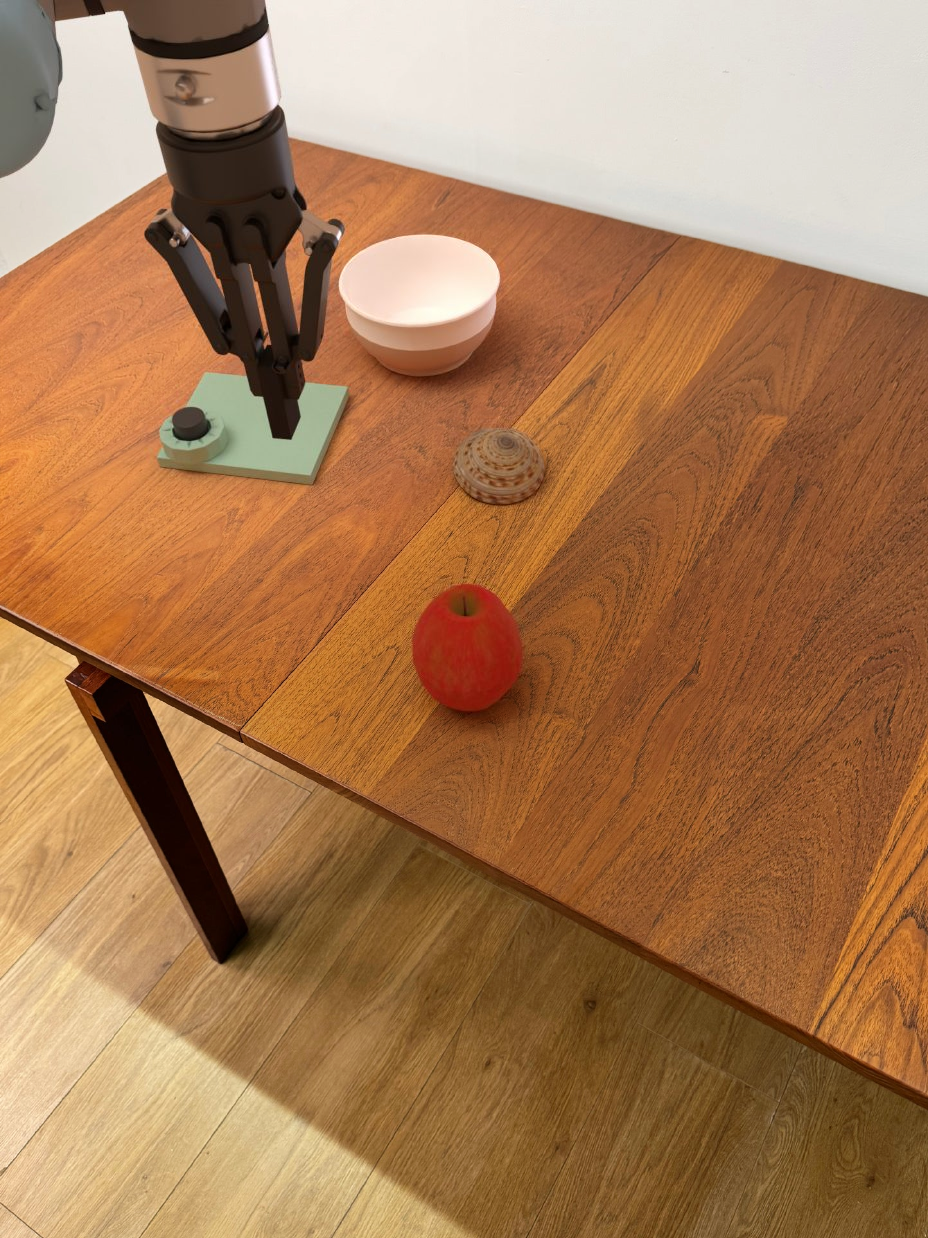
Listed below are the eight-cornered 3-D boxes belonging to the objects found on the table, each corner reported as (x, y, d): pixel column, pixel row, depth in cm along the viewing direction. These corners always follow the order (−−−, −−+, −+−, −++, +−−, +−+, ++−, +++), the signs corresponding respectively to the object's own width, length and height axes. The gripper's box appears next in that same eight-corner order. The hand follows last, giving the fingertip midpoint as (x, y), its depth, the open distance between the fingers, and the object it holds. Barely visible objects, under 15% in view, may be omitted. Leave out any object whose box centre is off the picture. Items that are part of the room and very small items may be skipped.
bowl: (505, 302, 109) (505, 235, 103) (493, 395, 99) (493, 327, 93) (361, 297, 110) (352, 231, 104) (335, 389, 100) (324, 321, 94)
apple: (435, 633, 80) (427, 541, 72) (534, 655, 79) (538, 563, 70) (402, 715, 75) (389, 627, 67) (507, 740, 74) (507, 653, 65)
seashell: (520, 410, 94) (551, 432, 87) (527, 466, 97) (557, 492, 90) (437, 430, 92) (462, 454, 86) (447, 486, 95) (472, 515, 88)
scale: (157, 470, 94) (149, 445, 91) (207, 381, 102) (201, 356, 99) (310, 488, 91) (306, 463, 89) (349, 396, 100) (345, 371, 97)
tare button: (171, 440, 92) (166, 425, 91) (183, 419, 94) (178, 404, 93) (202, 443, 92) (197, 429, 90) (213, 422, 94) (209, 407, 92)
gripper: (87, 136, 56) (189, 452, 75) (309, 148, 55) (358, 468, 73) (136, 78, 61) (221, 389, 79) (342, 87, 59) (380, 403, 78)
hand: (286, 427), depth 76 cm, fingers closed
